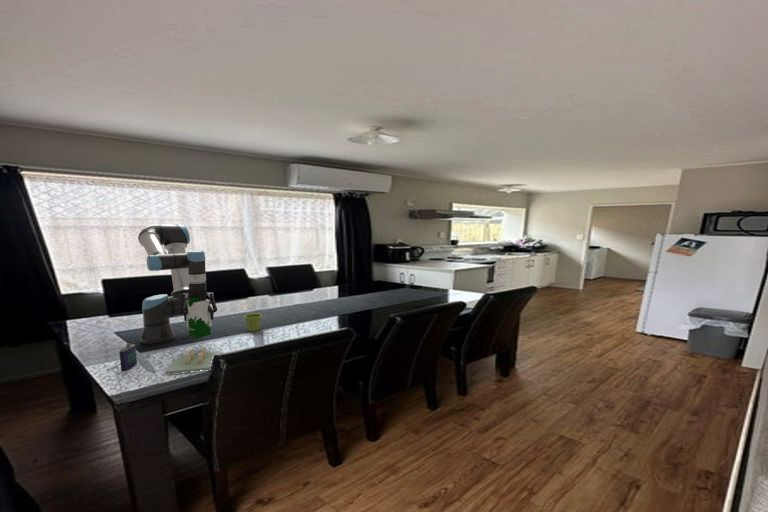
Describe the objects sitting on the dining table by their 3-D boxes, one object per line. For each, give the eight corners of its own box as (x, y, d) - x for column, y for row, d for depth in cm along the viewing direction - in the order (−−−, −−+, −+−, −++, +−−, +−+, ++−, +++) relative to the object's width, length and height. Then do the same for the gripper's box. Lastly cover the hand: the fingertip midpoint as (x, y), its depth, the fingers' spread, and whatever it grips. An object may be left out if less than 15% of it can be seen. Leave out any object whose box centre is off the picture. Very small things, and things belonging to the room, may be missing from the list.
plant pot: (256, 333, 193) (255, 318, 192) (241, 332, 195) (241, 317, 194) (265, 328, 202) (264, 313, 201) (251, 327, 204) (250, 313, 203)
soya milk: (186, 336, 168) (184, 296, 166) (204, 331, 176) (202, 293, 173) (196, 340, 164) (194, 299, 161) (214, 334, 171) (212, 295, 169)
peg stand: (165, 374, 141) (165, 362, 140) (180, 358, 158) (179, 346, 157) (213, 370, 145) (212, 358, 144) (222, 354, 162) (221, 343, 162)
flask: (132, 363, 152) (130, 340, 151) (139, 362, 152) (137, 339, 151) (119, 372, 143) (117, 347, 142) (126, 371, 143) (125, 347, 142)
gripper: (169, 284, 160) (172, 330, 163) (220, 283, 166) (221, 327, 168) (175, 281, 167) (177, 325, 170) (223, 280, 173) (224, 323, 175)
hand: (199, 326), depth 169 cm, fingers closed on soya milk, 9 cm apart
